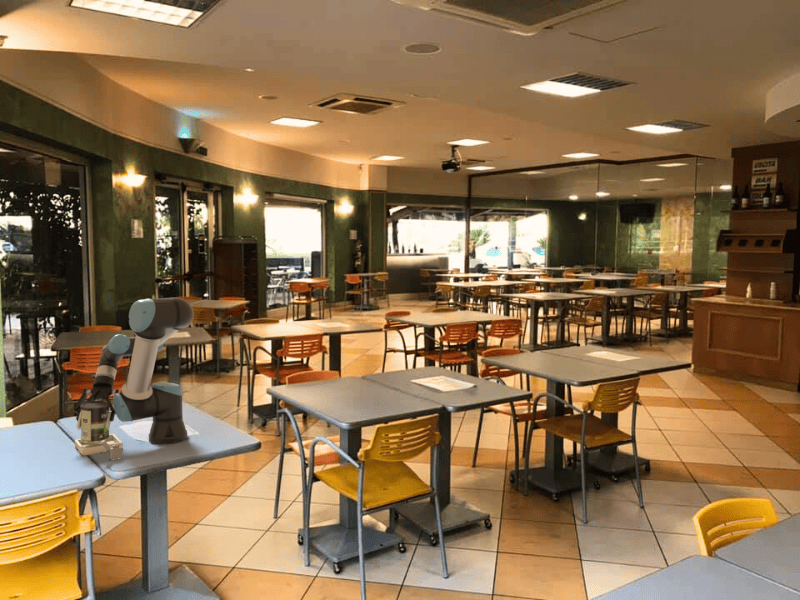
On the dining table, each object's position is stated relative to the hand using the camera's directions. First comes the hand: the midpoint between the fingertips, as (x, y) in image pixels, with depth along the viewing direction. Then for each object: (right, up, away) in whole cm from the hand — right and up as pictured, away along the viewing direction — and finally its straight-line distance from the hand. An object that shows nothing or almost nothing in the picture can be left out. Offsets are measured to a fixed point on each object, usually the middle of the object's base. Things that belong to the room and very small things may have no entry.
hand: (92, 428), depth 262 cm
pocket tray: (+1, -8, +3) cm, 9 cm away
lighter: (+13, -10, -12) cm, 20 cm away
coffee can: (-1, -5, +4) cm, 6 cm away
